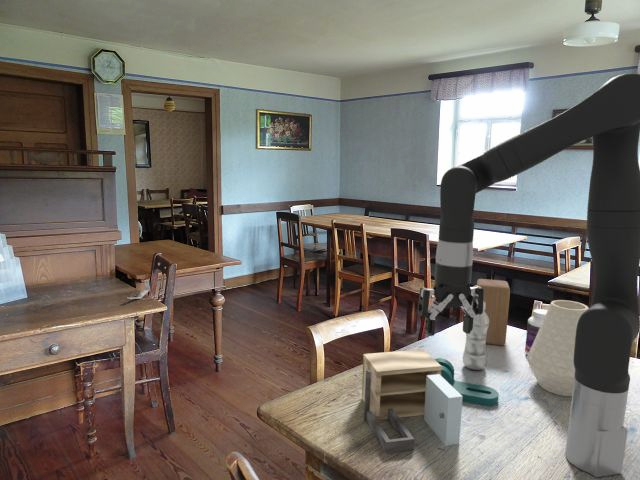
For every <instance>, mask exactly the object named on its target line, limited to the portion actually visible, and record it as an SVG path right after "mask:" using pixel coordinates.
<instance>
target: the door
mask: <svg viewBox="0 0 640 480" xmlns="http://www.w3.org/2000/svg"><path fill="white" fill-rule="evenodd" d="M462 399H463V396H462V395H461V394H460V393H459V392H458V391H457V390H455V389H454V388H453V387H452V386H451V385H450V384H449V383H448V382H447V381H446V380H445V379H444V378H443V377H442V376H441V375H440V374H436V375H427V376H426V392H425V409H424V415H423V420H424V421H425V423H426V424H427V425H428V426H429V428H430V429H431V430H432V431H433V432H434V434H436V436H437V437H438V439H440V441H441V442H442V444H443V445H444V446H445V447H446V446H447V447H448V446H456V445H459V444H460V439H461V438H460V435H461V424H462V423H461V422H462V409H463V402H462Z"/></svg>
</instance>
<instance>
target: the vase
mask: <svg viewBox="0 0 640 480" xmlns="http://www.w3.org/2000/svg"><path fill="white" fill-rule="evenodd" d="M589 308H590V307H589V306H588V305H586V304H584V303H581V302H579V301H574V300H565V299H557V300H552V301H551V302H550V304H549V307H548V309H547V310H548V311H547V313H546V315H545V317H544V320H543V322H542V324H541V326H540V329H539V331H538V333H537V335H536V338H535V340H534V342H533V345H532V347H531V349H530V351H529V354H528V355H527V357H526V358H527V362H528V365H529V366H530V367H529V368H530V369H531V371H532V373H533V375H534V378H535V379H536V382H537V384H538V385H539V387H541V388H542V389H543V390H545V391H546V392H548V393H551V394H554V395H558V396H562V397H569V398H570V397H571V398H572V393H573V385H574V377H575V367H574V348H575V337H576V329H577V324H578V321H579V318H580V316H581V315H582V314H583V313H584V312H585V311H586V310H588V309H589Z"/></svg>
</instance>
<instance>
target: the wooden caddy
mask: <svg viewBox="0 0 640 480" xmlns="http://www.w3.org/2000/svg"><path fill="white" fill-rule="evenodd" d="M362 359H363V360H362V362H363V363H362V380H361V381H362V384H361V385H362V387H361V391H362V392H361V400H362V402H363V404H364V409H363V411H364V412H363V420H364V421H365V422H366V423H367V424H368V426H369V428H370V429H371V431H372V433H373V435H374V437H375V438H376V439H377V442H378V444H379V445H380V446H381V448H382V450H383V451H384V454H392V453H400V452H407V451H413V450H415V437H414V436H413V434H412V433H411V432H410V431H409V430H408V428H407V427H406V425H405V424H404V423H403V421H402V419H401V418H407V417H413V416H414V417H415V416H416V417H417V416H424V409H425V392H426V376H427V375H436V374H440V375H441V368H442V366H441V365H440V364H439V363H438V362H437V361H435V360H434V359H435V358H433V357H432V356H431V355H430V354H429V353H428V352H427V351H425V349H422V348H421V349H412V350H411V349H409V350H398V351H385V352H374V353H373V352H372V353H370V352H369V353H363V358H362ZM379 420H388V421H389V423H390V424H391V426H392V427H393V428H394V430H395V431H396V433H397V434H398V437H399V438H393V439H390V438H389V436H388V435H387V433H386V431H385V430H384V429H383V427H382V426H381V424H380V422H379Z"/></svg>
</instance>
